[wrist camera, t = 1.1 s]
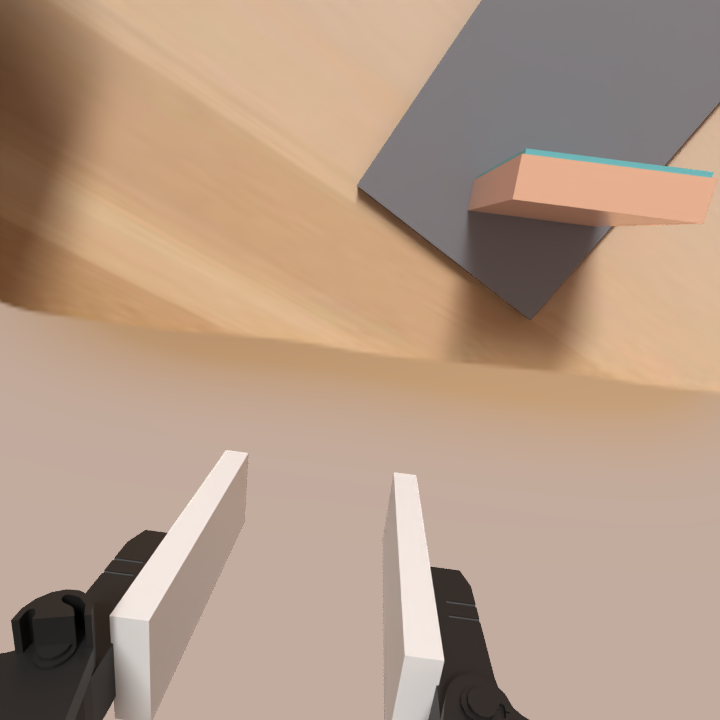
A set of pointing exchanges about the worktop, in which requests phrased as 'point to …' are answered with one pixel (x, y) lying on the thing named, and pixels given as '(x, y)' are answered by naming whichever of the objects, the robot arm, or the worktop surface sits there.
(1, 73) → the worktop surface
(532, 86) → the mat
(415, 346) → the worktop surface
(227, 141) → the worktop surface
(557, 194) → the tile
